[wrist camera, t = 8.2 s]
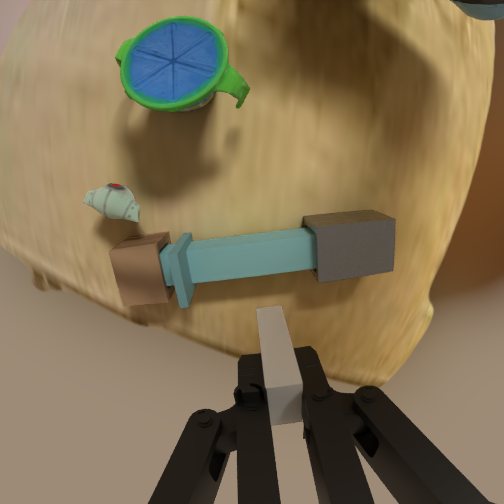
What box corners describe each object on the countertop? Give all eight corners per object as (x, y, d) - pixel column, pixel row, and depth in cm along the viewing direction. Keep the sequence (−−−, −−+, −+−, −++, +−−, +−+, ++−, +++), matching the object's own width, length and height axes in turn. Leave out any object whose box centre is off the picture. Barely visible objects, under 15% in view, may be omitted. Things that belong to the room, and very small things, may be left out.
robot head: (98, 202, 33) (73, 211, 27) (106, 173, 32) (81, 176, 26) (149, 220, 35) (131, 232, 28) (158, 190, 34) (140, 196, 27)
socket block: (127, 237, 35) (108, 251, 29) (168, 231, 35) (155, 245, 29) (139, 284, 37) (123, 305, 31) (178, 280, 37) (168, 302, 31)
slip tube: (144, 239, 35) (119, 261, 27) (326, 216, 35) (351, 232, 27) (153, 280, 37) (133, 311, 29) (327, 259, 37) (350, 286, 29)
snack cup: (264, 80, 30) (274, 50, 20) (219, 148, 32) (211, 141, 23) (163, 34, 27) (141, -1, 17) (120, 97, 29) (83, 79, 20)
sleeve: (303, 216, 35) (316, 227, 29) (372, 209, 36) (395, 219, 30) (306, 264, 37) (318, 283, 31) (371, 254, 38) (393, 271, 32)
